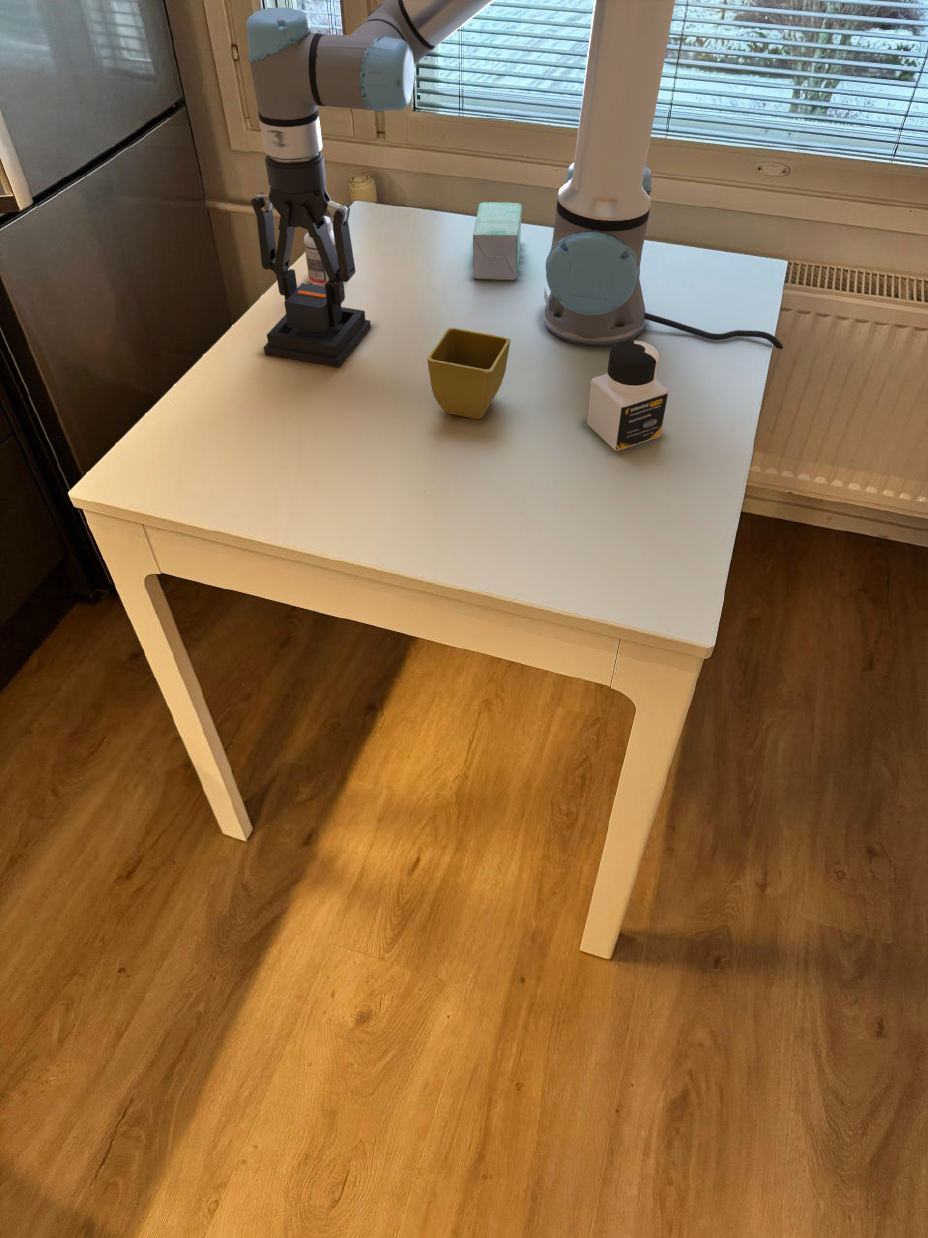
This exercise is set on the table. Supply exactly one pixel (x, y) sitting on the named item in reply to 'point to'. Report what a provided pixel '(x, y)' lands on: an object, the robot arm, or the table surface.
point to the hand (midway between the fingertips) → (315, 318)
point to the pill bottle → (317, 258)
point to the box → (497, 241)
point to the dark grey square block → (308, 309)
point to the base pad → (319, 340)
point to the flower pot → (467, 371)
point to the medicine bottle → (628, 397)
